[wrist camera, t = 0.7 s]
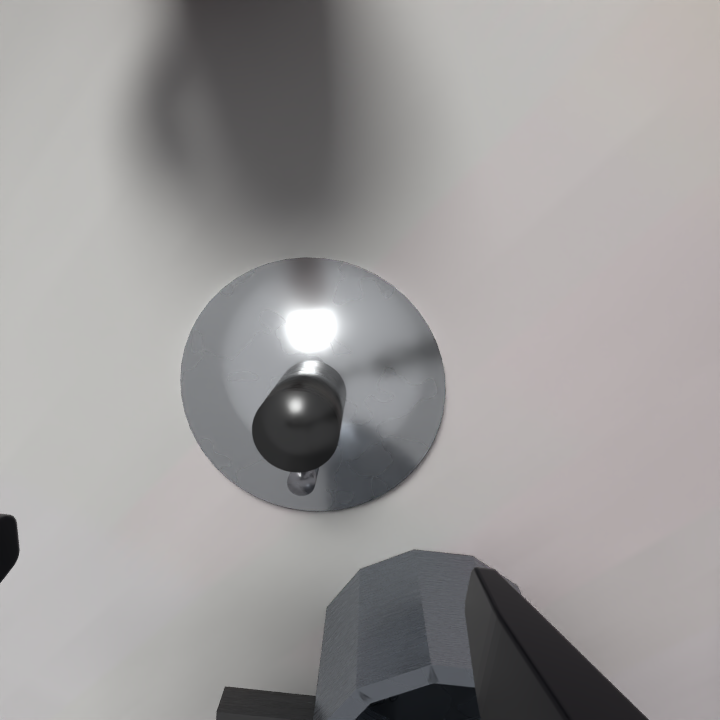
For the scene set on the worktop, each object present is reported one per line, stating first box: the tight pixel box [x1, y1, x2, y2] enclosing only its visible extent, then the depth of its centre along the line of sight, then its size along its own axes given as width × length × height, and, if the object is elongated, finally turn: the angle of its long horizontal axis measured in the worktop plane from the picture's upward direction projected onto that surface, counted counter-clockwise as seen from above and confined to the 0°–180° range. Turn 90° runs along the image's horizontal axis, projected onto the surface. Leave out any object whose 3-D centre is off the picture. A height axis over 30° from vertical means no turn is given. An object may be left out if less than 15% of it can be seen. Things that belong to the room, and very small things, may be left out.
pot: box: [216, 550, 521, 720], centre depth 19 cm, size 18×11×6 cm, turn 84°
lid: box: [180, 257, 445, 511], centre depth 17 cm, size 12×12×5 cm
